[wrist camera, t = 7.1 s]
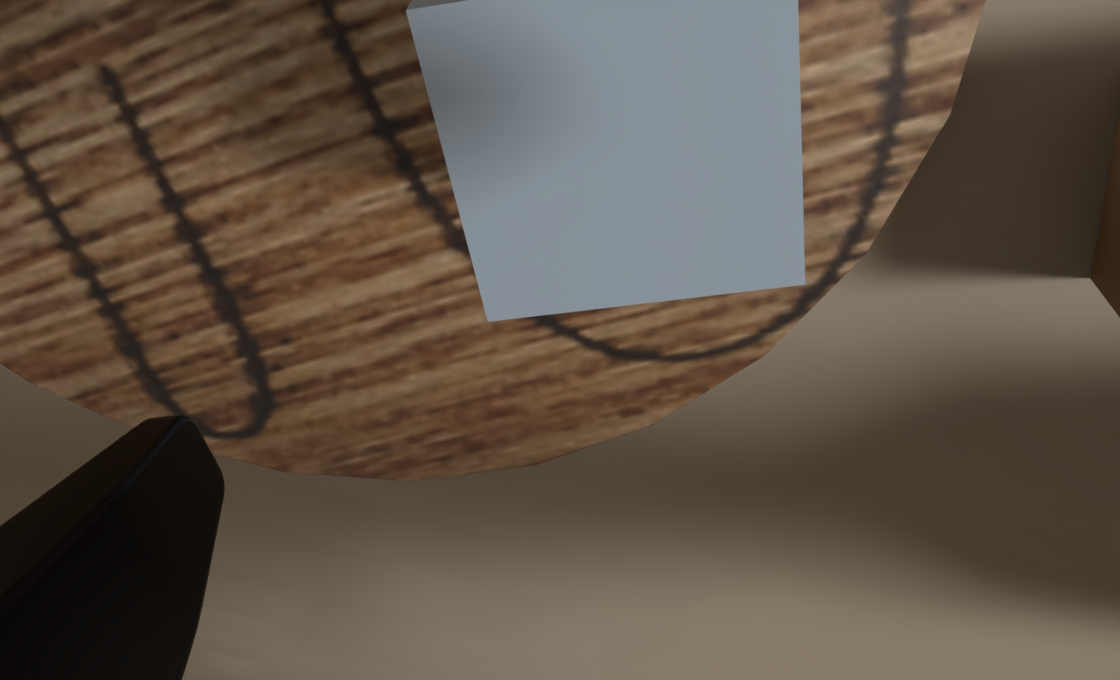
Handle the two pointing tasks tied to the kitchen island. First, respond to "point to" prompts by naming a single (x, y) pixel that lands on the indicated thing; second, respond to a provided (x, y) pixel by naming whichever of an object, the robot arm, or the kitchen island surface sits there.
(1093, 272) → the walnut block
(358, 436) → the trivet
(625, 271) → the slate block
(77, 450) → the kitchen island surface
